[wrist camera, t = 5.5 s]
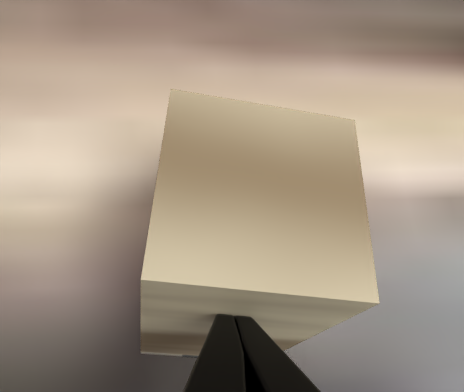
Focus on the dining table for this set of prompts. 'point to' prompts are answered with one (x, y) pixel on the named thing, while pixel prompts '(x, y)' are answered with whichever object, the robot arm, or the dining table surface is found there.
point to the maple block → (254, 224)
